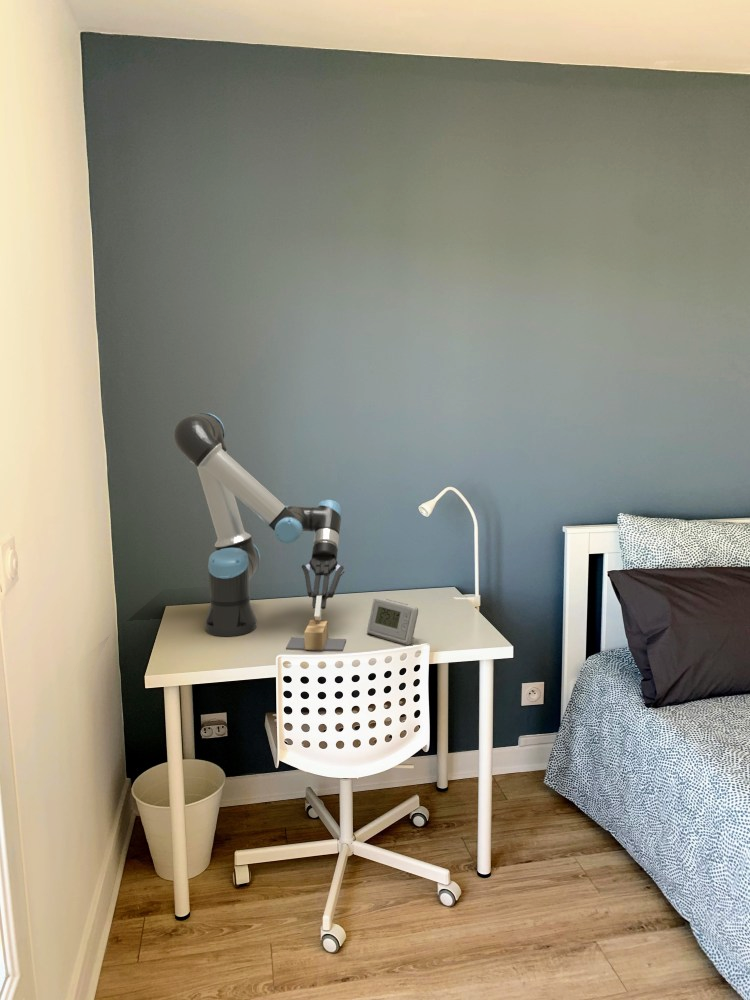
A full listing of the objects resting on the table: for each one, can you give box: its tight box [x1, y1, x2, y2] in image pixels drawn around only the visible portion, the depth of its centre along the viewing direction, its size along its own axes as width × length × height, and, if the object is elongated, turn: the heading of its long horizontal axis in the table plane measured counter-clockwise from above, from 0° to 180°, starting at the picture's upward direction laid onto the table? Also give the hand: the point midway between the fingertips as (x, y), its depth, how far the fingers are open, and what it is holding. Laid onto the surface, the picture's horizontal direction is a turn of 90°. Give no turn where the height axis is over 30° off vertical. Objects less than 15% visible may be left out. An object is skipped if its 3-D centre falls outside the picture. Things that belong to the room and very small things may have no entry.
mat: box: [285, 637, 347, 652], centre depth 220 cm, size 16×8×1 cm, turn 85°
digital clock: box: [366, 596, 419, 646], centre depth 224 cm, size 16×9×11 cm, turn 40°
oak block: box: [304, 619, 329, 651], centre depth 219 cm, size 5×5×10 cm
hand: (317, 618), depth 221 cm, fingers closed
